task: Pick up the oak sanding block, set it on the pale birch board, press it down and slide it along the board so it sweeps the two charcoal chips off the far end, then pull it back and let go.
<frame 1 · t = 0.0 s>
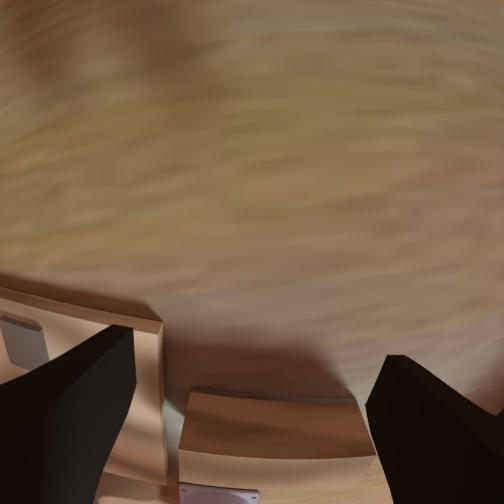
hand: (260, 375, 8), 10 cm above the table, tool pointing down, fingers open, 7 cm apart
birch board: (74, 395, 22), on the table
sanding block: (271, 412, 22), on the table
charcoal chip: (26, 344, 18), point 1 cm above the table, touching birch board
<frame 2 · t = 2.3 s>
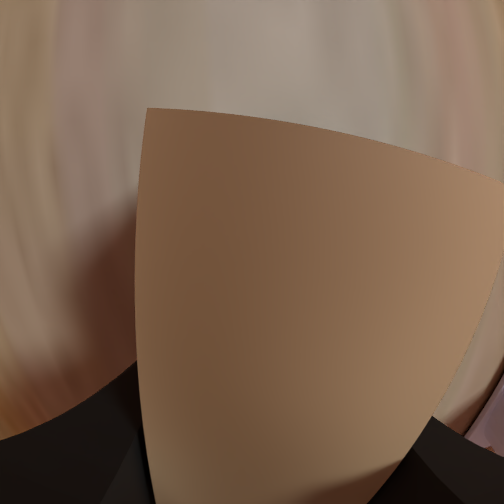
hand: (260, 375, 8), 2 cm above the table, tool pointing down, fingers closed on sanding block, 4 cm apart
sanding block: (258, 341, 10), on the table, touching gripper
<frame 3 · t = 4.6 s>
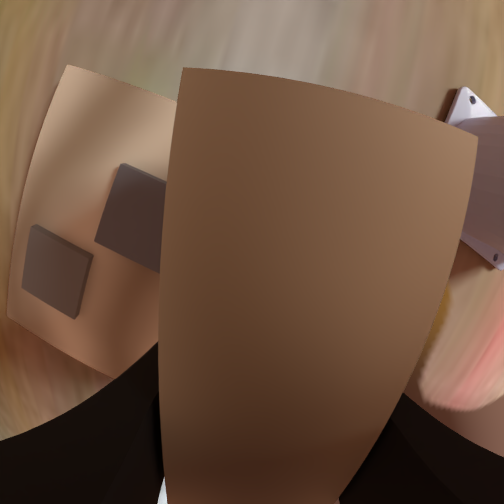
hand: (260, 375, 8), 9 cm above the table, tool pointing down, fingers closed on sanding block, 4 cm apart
birch board: (163, 265, 17), on the table
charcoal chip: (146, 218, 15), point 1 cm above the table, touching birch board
sanding block: (260, 312, 11), point 6 cm above the table, touching gripper
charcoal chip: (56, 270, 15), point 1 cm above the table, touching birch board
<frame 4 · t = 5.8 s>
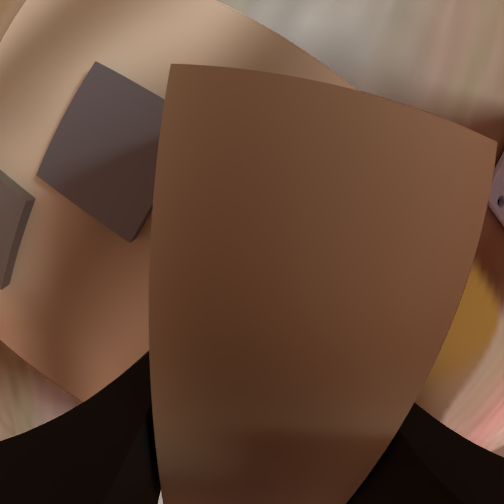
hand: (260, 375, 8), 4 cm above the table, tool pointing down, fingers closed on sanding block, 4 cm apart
birch board: (132, 230, 11), on the table
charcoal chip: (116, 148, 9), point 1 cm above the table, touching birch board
sanding block: (260, 318, 10), point 1 cm above the table, touching birch board, gripper
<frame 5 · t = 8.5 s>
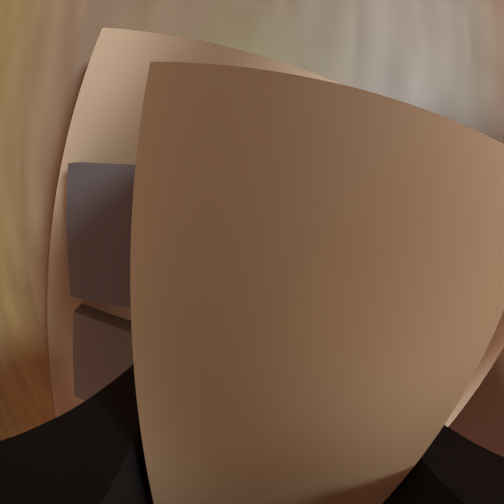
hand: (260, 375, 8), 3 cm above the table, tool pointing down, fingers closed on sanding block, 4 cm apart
birch board: (301, 332, 11), on the table
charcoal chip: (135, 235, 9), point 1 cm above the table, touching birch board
sanding block: (262, 336, 10), point 2 cm above the table, touching gripper
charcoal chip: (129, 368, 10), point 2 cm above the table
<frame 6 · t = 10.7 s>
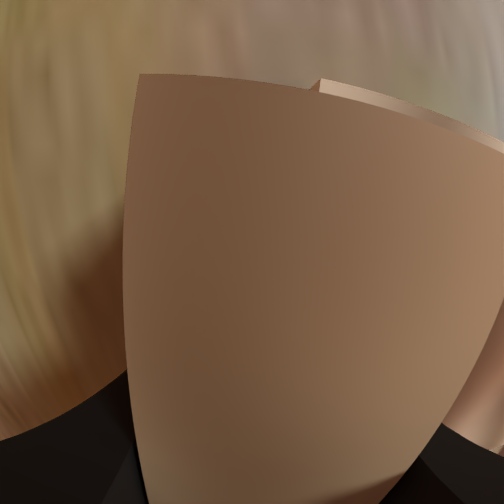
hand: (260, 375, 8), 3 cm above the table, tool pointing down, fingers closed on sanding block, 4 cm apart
birch board: (466, 334, 12), on the table
sanding block: (262, 339, 10), point 1 cm above the table, touching birch board, gripper
when the fingers open (3 cm above the table, at t = 13.0 s): sanding block stays where it is, resting on birch board.
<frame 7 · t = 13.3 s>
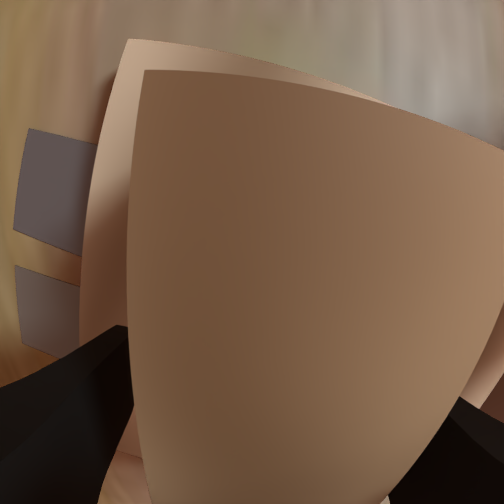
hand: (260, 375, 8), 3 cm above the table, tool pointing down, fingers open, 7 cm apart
birch board: (335, 338, 12), on the table
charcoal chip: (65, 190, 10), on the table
sanding block: (260, 338, 10), point 1 cm above the table, touching birch board
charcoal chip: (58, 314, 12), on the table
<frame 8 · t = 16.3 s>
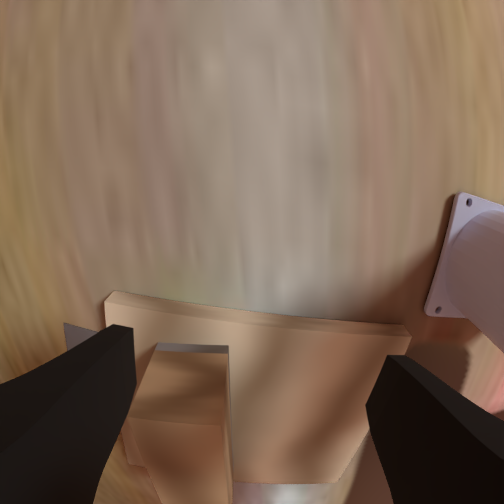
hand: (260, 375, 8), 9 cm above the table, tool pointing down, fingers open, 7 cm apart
birch board: (246, 409, 21), on the table
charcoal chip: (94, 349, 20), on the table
sanding block: (201, 416, 19), point 1 cm above the table, touching birch board
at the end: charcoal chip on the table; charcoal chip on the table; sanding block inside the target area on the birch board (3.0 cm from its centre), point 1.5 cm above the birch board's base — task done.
